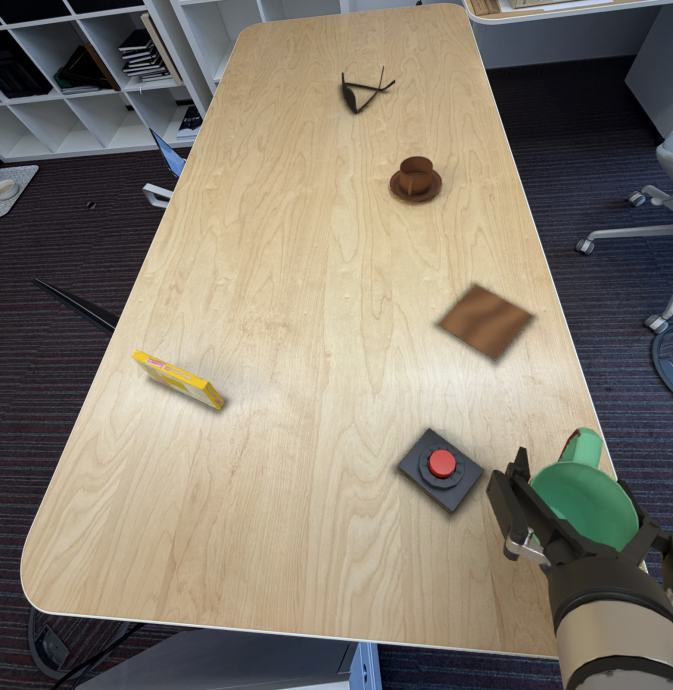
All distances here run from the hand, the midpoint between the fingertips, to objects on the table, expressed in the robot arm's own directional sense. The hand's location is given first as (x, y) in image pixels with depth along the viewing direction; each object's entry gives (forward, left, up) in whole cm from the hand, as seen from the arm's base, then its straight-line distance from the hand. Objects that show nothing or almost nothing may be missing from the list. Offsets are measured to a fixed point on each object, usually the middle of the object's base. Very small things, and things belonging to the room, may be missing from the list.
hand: (566, 473), depth 47 cm
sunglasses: (+91, -70, -16) cm, 116 cm away
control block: (+12, +5, -16) cm, 20 cm away
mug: (-1, +3, -4) cm, 5 cm away
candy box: (+55, +23, -16) cm, 62 cm away
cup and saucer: (+55, -45, -16) cm, 73 cm away
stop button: (+12, +5, -12) cm, 18 cm away
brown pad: (+22, -23, -16) cm, 36 cm away
